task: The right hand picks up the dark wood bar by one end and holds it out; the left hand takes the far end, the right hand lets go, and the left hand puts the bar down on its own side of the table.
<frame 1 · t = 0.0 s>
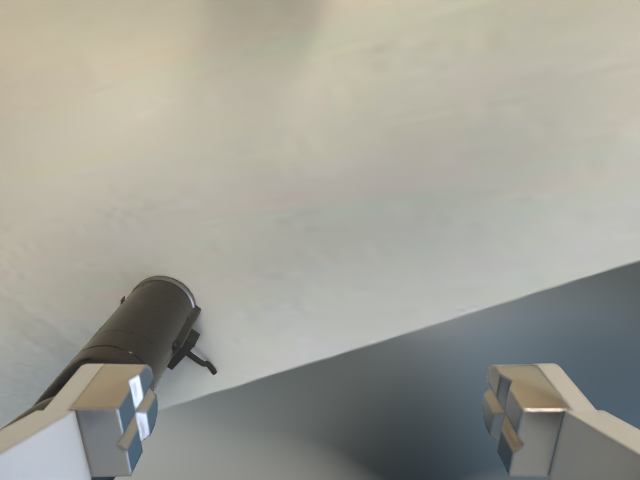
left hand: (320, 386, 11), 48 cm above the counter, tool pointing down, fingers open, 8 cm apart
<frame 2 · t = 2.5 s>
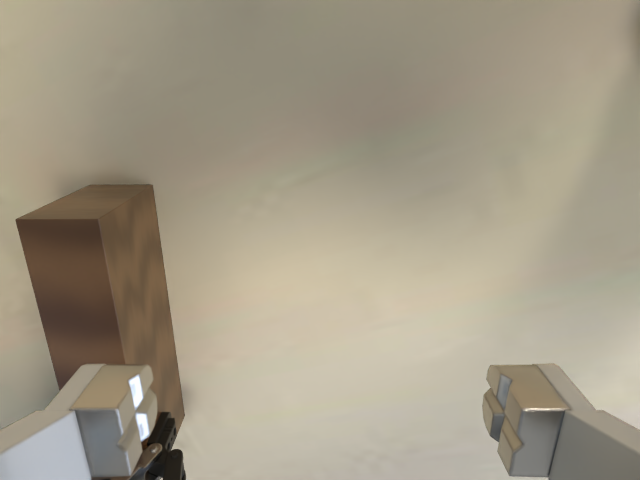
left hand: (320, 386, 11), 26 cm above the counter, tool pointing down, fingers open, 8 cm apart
bar: (142, 312, 40), on the counter, touching right hand
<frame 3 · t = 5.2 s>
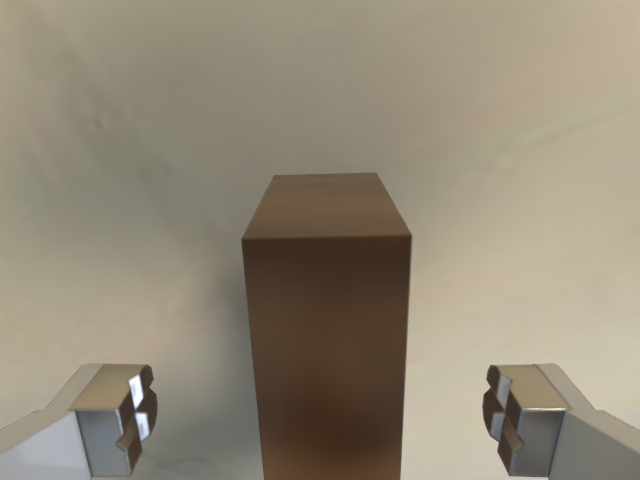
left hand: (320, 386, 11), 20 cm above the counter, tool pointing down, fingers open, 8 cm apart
bar: (329, 371, 26), point 7 cm above the counter, touching right hand
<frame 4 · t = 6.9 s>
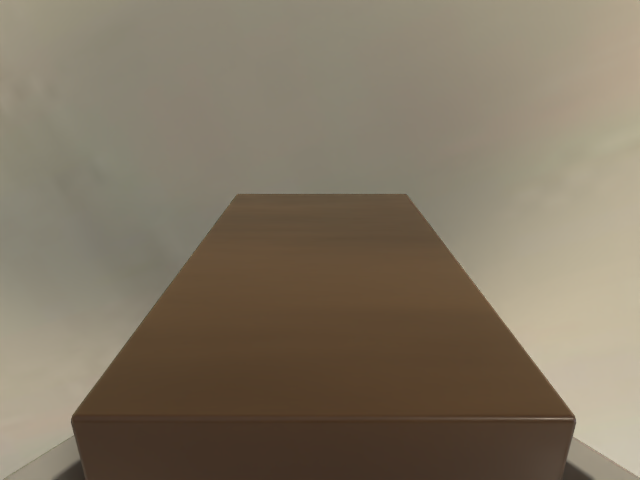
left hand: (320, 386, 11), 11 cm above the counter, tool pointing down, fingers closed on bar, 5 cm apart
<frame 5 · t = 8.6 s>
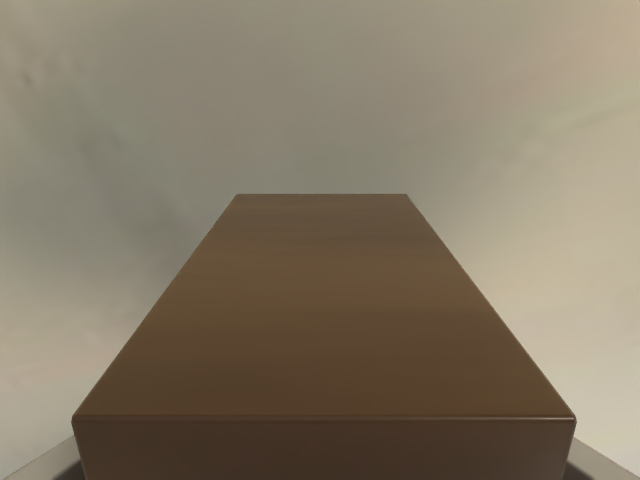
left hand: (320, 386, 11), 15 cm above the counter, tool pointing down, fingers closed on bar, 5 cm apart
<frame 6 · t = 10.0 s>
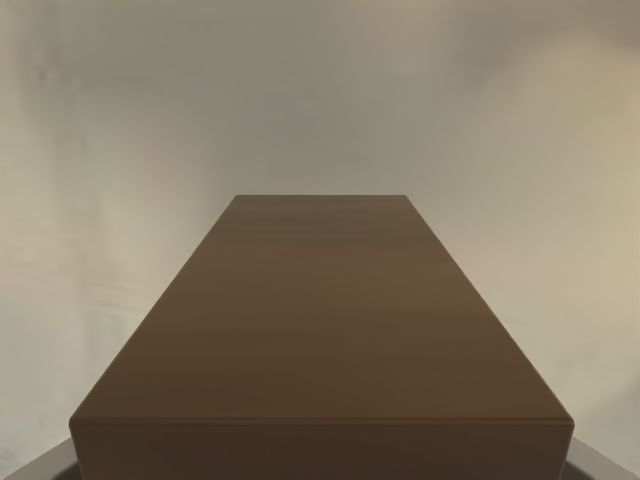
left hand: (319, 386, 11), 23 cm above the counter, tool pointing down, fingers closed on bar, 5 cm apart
when the left hand's fingers open (5 cm above the counter, at t = 13.5 s): bar stays where it is, on the counter.
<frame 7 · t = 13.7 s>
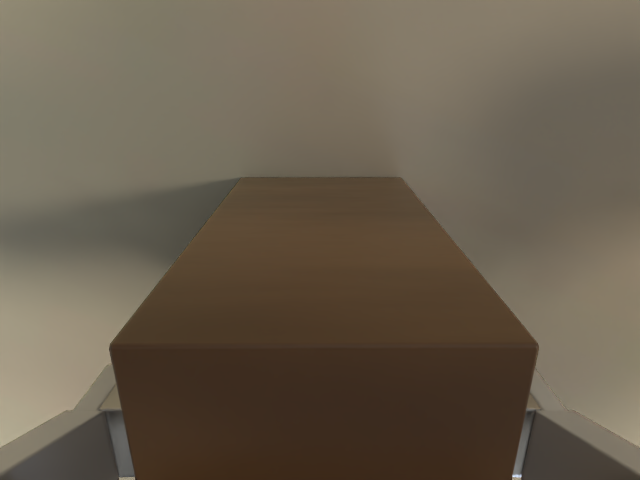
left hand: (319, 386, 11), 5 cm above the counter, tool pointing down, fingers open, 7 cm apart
bar: (321, 459, 18), on the counter
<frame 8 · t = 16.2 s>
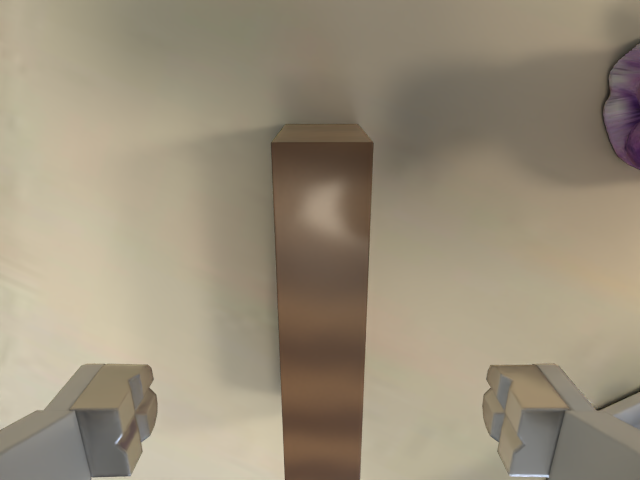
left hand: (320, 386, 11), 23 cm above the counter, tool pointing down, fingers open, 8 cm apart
bar: (321, 277, 35), on the counter
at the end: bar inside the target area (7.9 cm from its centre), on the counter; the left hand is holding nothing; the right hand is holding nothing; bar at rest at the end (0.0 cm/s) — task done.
